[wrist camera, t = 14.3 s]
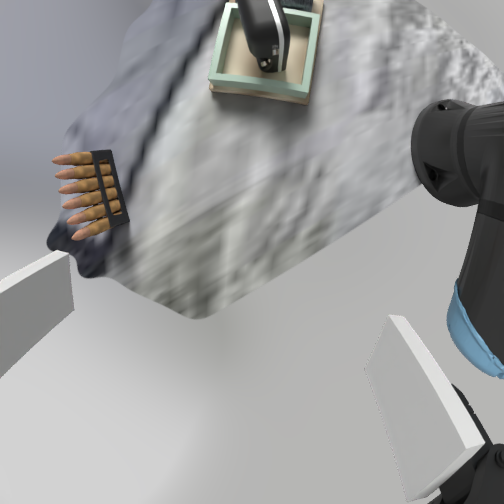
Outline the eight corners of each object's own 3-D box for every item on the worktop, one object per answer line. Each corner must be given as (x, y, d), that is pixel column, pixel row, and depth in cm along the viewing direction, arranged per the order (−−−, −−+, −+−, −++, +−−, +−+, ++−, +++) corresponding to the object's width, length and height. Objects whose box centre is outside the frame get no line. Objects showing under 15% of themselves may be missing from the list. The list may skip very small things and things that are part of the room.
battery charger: (243, 32, 28) (230, -15, 17) (273, 27, 27) (272, -22, 16) (255, 78, 30) (247, 41, 19) (287, 72, 29) (293, 34, 18)
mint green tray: (322, 1, 26) (329, -23, 20) (307, 105, 31) (314, 93, 25) (235, -10, 26) (228, -35, 20) (211, 91, 32) (198, 77, 25)
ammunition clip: (101, 153, 35) (45, 156, 23) (111, 149, 35) (56, 149, 23) (119, 224, 38) (69, 248, 26) (130, 221, 38) (80, 245, 26)
